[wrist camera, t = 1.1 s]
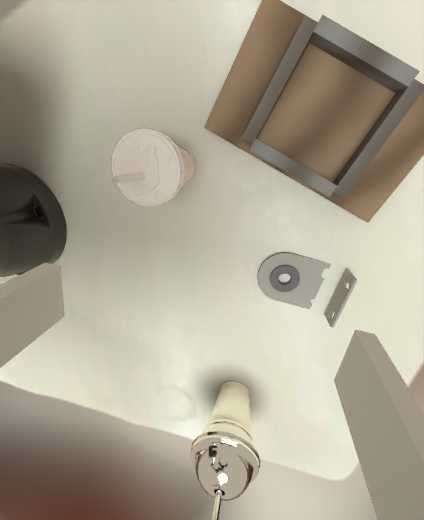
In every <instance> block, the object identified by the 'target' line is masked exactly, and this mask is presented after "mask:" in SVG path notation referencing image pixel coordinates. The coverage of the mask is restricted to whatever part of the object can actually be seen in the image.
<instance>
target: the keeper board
mask: <svg viewBox="0 0 424 520" xmlns="http://www.w3.org/2000/svg"><path fill="white" fill-rule="evenodd" d="M418 73H419V71H418V70H417V69H415V68H413V67H411V66H410V65H408V64H406V63H405V62H403V61H401V60H399V59H398V58H396V57H394V56H393V55H391V54H389V53H387V52H386V51H384V50H382V49H381V48H379V47H377V46H375V45H374V44H372V43H370V42H369V41H367V40H365V39H363V38H362V37H360V36H358V35H357V34H355V33H353V32H351V31H350V30H348V29H346V28H345V27H343V26H341V25H339V24H338V23H336V22H334V21H333V20H331V19H329V18H327V17H326V16H324V15H322V17H321V19H320V20H319V22H316V21H314V20H312V19H311V18H309V17H307V16H306V15H304V14H302V13H300V12H299V11H297V10H295V9H294V8H292V7H290V6H288V5H287V4H285V3H283V2H282V1H280V0H262V2H261V4H260V6H259V9H258V11H257V13H256V15H255V17H254V20H253V22H252V24H251V26H250V28H249V31H248V33H247V35H246V37H245V39H244V42H243V44H242V46H241V48H240V50H239V53H238V55H237V57H236V59H235V61H234V63H233V66H232V68H231V70H230V72H229V74H228V77H227V79H226V81H225V83H224V85H223V88H222V90H221V92H220V94H219V96H218V99H217V101H216V103H215V105H214V107H213V110H212V112H211V114H210V116H209V118H208V121H207V123H206V125H205V128H206V129H208V130H210V131H212V132H213V133H215V134H217V135H218V136H220V137H222V138H224V139H225V140H227V141H229V142H230V143H232V144H234V145H236V146H237V147H239V148H241V149H243V150H244V151H246V152H248V153H249V154H251V155H253V156H255V157H256V158H258V159H260V160H261V161H263V162H265V163H267V164H268V165H270V166H272V167H273V168H275V169H277V170H279V171H280V172H282V173H284V174H285V175H287V176H289V177H291V178H292V179H294V180H296V181H297V182H299V183H301V184H303V185H304V186H306V187H308V188H309V189H311V190H313V191H315V192H316V193H318V194H320V195H321V196H323V197H325V198H327V199H328V200H330V201H332V202H333V203H335V204H337V205H339V206H340V207H342V208H344V209H345V210H347V211H349V212H351V213H352V214H354V215H356V216H358V217H359V218H361V219H363V220H364V221H366V222H369V221H370V220H371V219H372V217H373V216H374V215H375V214H376V212H377V211H378V210H379V209H380V208H381V206H382V205H383V204H384V203H385V201H386V200H387V199H388V198H389V196H390V195H391V194H392V193H393V192H394V190H395V189H396V188H397V187H398V185H399V184H400V183H401V182H402V181H403V179H404V178H405V177H406V176H407V174H408V173H409V172H410V171H411V170H412V168H413V167H414V166H415V165H416V163H417V162H418V161H419V160H420V159H421V157H422V156H423V155H424V84H422V83H420V82H419V81H417V80H415V79H414V78H415V77H416V75H417V74H418Z"/></svg>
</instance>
